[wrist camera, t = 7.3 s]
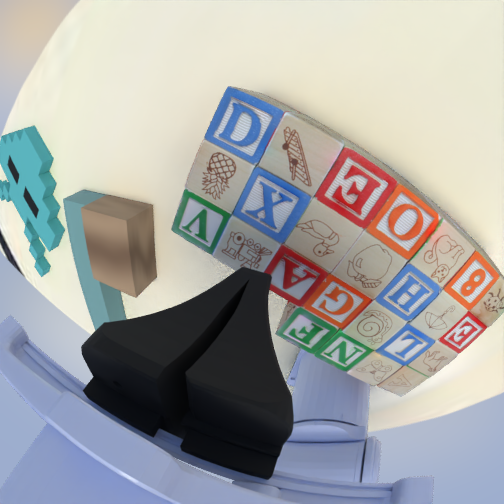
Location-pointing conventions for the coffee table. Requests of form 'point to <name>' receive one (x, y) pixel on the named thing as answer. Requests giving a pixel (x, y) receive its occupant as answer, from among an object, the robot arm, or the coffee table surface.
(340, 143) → the stack of blocks
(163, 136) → the coffee table surface
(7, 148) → the alien figure
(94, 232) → the walnut block
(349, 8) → the coffee table surface
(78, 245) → the teal bar
